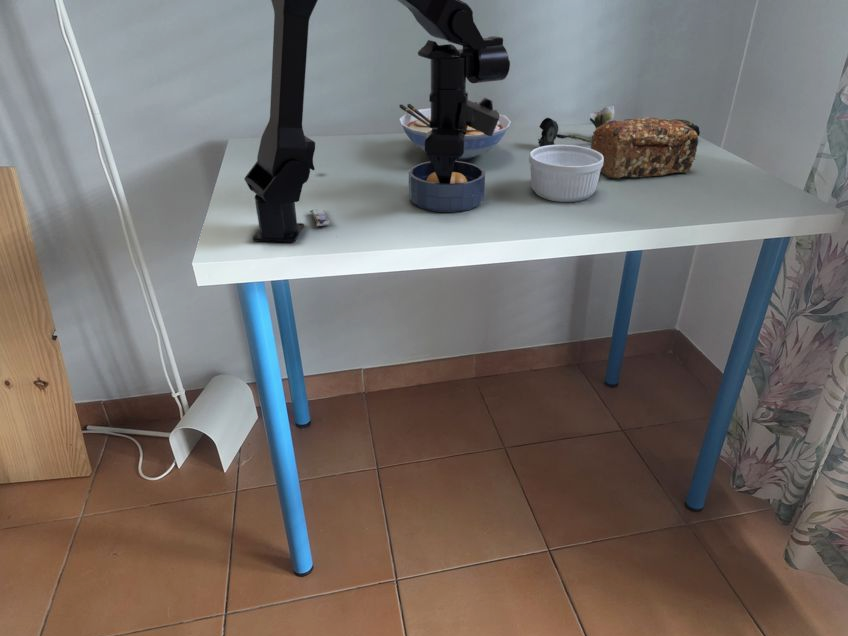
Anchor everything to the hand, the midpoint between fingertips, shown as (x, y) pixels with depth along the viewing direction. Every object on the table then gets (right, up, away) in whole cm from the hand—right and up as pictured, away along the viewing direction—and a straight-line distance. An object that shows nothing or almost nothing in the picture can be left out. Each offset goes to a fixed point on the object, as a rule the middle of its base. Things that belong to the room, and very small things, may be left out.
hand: (447, 180), depth 118 cm
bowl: (0, -3, +2) cm, 4 cm away
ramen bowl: (+1, +11, +24) cm, 26 cm away
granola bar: (-21, -9, -8) cm, 24 cm away
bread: (+39, +7, +19) cm, 43 cm away
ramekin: (+21, -1, +7) cm, 22 cm away
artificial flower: (+30, +17, +35) cm, 49 cm away
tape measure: (+53, +19, +39) cm, 69 cm away
